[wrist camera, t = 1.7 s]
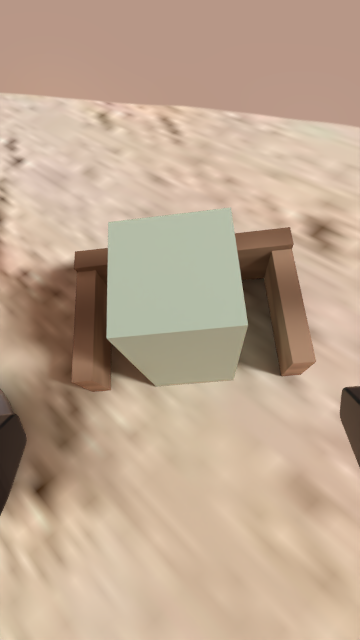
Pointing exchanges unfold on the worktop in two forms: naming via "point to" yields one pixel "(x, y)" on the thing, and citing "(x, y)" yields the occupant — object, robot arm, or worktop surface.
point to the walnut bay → (255, 262)
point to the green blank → (177, 296)
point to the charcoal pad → (5, 405)
